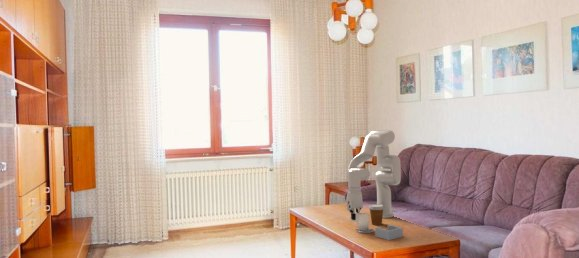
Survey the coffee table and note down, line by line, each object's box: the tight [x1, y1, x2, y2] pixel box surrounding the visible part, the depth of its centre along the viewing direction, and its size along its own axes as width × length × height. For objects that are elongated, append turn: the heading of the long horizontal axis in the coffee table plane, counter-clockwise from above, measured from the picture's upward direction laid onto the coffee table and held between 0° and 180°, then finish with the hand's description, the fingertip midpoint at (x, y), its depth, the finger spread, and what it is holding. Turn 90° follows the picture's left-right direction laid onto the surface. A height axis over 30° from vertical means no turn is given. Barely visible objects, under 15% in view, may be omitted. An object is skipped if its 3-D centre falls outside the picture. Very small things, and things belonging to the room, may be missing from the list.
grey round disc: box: [356, 228, 375, 234], centre depth 262 cm, size 10×10×1 cm
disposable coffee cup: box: [368, 203, 384, 226], centre depth 279 cm, size 10×10×12 cm
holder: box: [374, 224, 404, 241], centre depth 250 cm, size 11×10×5 cm
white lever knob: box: [350, 211, 371, 231], centre depth 266 cm, size 13×6×9 cm, turn 36°
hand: (355, 218), depth 269 cm, fingers closed on white lever knob, 2 cm apart
